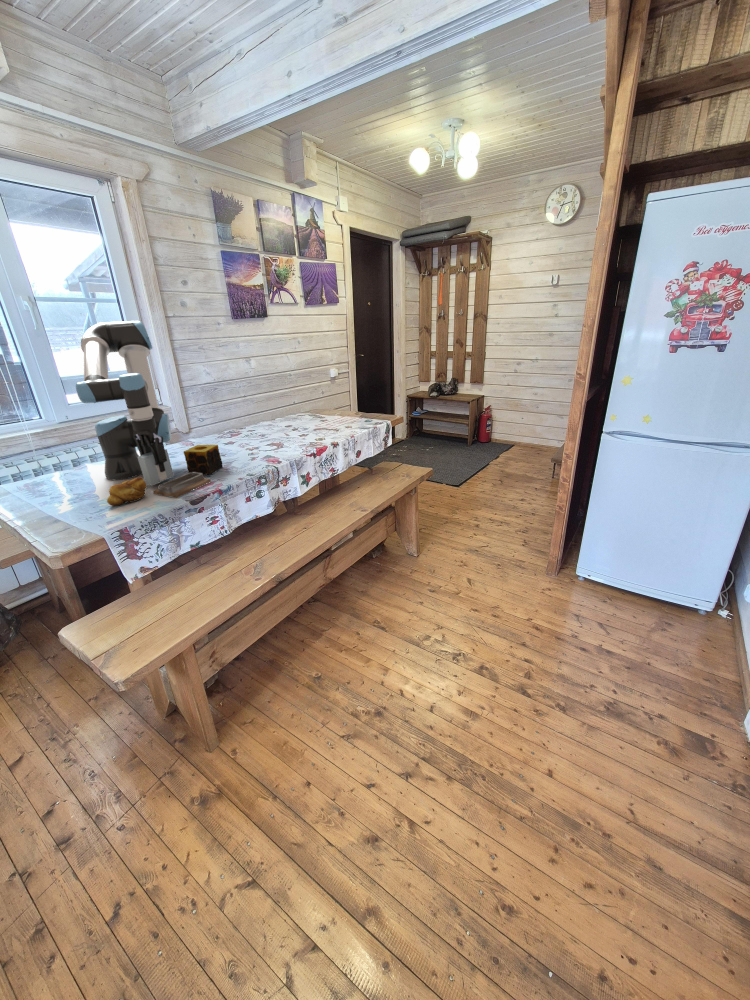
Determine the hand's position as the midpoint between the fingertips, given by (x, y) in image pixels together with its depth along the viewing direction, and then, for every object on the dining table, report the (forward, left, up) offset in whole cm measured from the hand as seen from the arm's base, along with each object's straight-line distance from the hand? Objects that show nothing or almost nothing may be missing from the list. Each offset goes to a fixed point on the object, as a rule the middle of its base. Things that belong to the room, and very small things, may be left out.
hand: (159, 478), depth 160 cm
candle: (+6, +17, -2) cm, 18 cm away
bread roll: (+3, -16, -2) cm, 16 cm away
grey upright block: (0, 0, -1) cm, 1 cm away
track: (+12, 0, -2) cm, 13 cm away
